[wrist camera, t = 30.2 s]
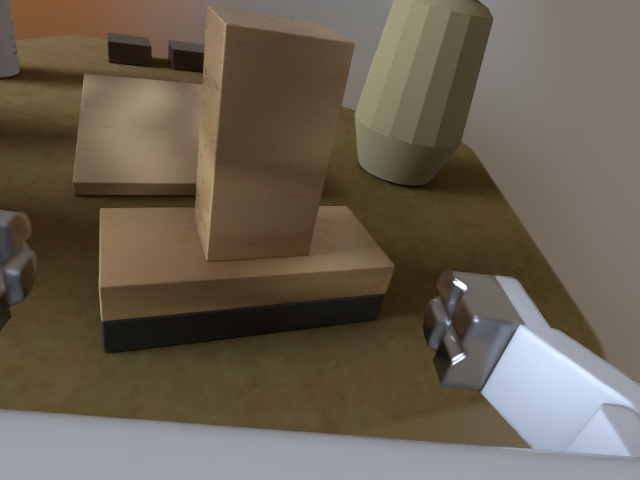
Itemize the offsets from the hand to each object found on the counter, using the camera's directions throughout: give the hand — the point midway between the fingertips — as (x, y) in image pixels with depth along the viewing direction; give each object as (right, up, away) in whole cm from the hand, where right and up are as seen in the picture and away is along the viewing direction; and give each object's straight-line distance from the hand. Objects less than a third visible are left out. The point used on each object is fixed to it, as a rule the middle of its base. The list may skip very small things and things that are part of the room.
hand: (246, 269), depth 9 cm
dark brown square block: (-13, +20, +41) cm, 47 cm away
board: (-9, +9, +25) cm, 28 cm away
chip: (-18, +19, +39) cm, 47 cm away
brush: (-2, -2, +11) cm, 11 cm away
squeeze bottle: (+7, +6, +27) cm, 28 cm away
